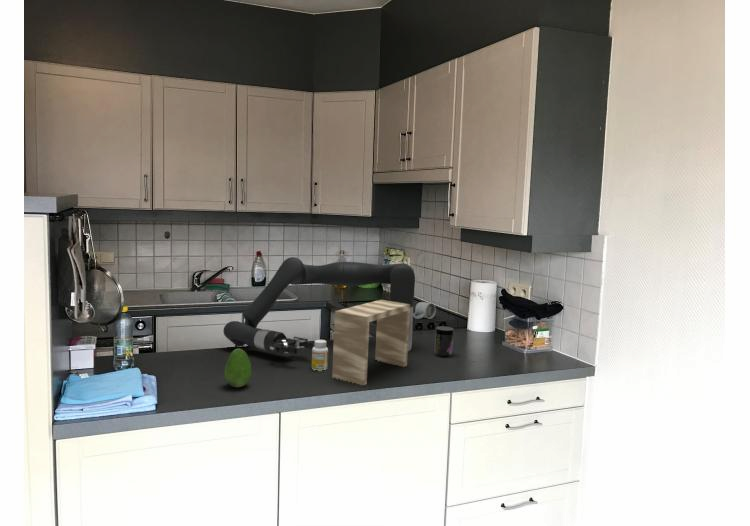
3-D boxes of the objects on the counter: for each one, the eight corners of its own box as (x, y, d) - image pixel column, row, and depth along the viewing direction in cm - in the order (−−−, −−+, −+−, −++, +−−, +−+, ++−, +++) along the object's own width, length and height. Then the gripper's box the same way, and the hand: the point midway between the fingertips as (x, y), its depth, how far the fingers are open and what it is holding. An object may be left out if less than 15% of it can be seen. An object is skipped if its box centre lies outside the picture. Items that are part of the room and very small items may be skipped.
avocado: (241, 392, 175) (242, 353, 174) (219, 388, 178) (219, 349, 176) (256, 384, 182) (257, 346, 181) (234, 380, 185) (235, 343, 184)
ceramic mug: (423, 314, 298) (424, 299, 297) (435, 317, 292) (436, 302, 291) (408, 317, 290) (409, 302, 289) (421, 320, 284) (421, 305, 283)
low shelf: (378, 359, 216) (380, 299, 213) (406, 365, 209) (410, 304, 207) (332, 378, 192) (334, 311, 190) (363, 385, 186) (366, 316, 183)
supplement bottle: (319, 365, 205) (320, 338, 204) (330, 369, 202) (331, 341, 200) (308, 368, 201) (309, 340, 200) (319, 372, 197) (320, 344, 196)
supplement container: (445, 358, 220) (447, 331, 219) (430, 355, 225) (432, 328, 223) (455, 355, 226) (457, 328, 224) (440, 351, 230) (442, 325, 228)
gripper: (256, 334, 206) (292, 342, 197) (283, 327, 218) (318, 334, 209) (255, 355, 207) (291, 364, 198) (283, 347, 219) (318, 354, 210)
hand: (305, 348), depth 204 cm, fingers open, 8 cm apart
